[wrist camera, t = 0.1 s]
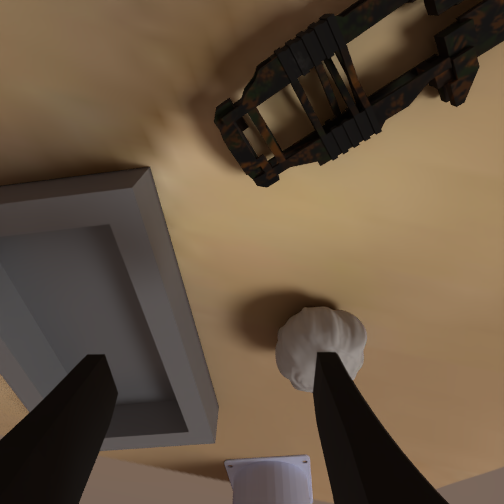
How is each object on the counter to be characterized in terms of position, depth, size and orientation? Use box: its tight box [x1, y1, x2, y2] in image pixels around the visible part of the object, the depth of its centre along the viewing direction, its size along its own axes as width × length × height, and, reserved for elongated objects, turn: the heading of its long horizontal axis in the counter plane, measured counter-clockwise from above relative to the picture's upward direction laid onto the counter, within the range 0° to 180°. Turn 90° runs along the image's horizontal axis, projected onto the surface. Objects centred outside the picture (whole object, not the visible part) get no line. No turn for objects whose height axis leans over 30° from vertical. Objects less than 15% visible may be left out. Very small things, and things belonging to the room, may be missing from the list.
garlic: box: [276, 307, 367, 393], centre depth 21 cm, size 6×5×5 cm
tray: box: [0, 167, 219, 451], centre depth 22 cm, size 20×12×3 cm, turn 7°
